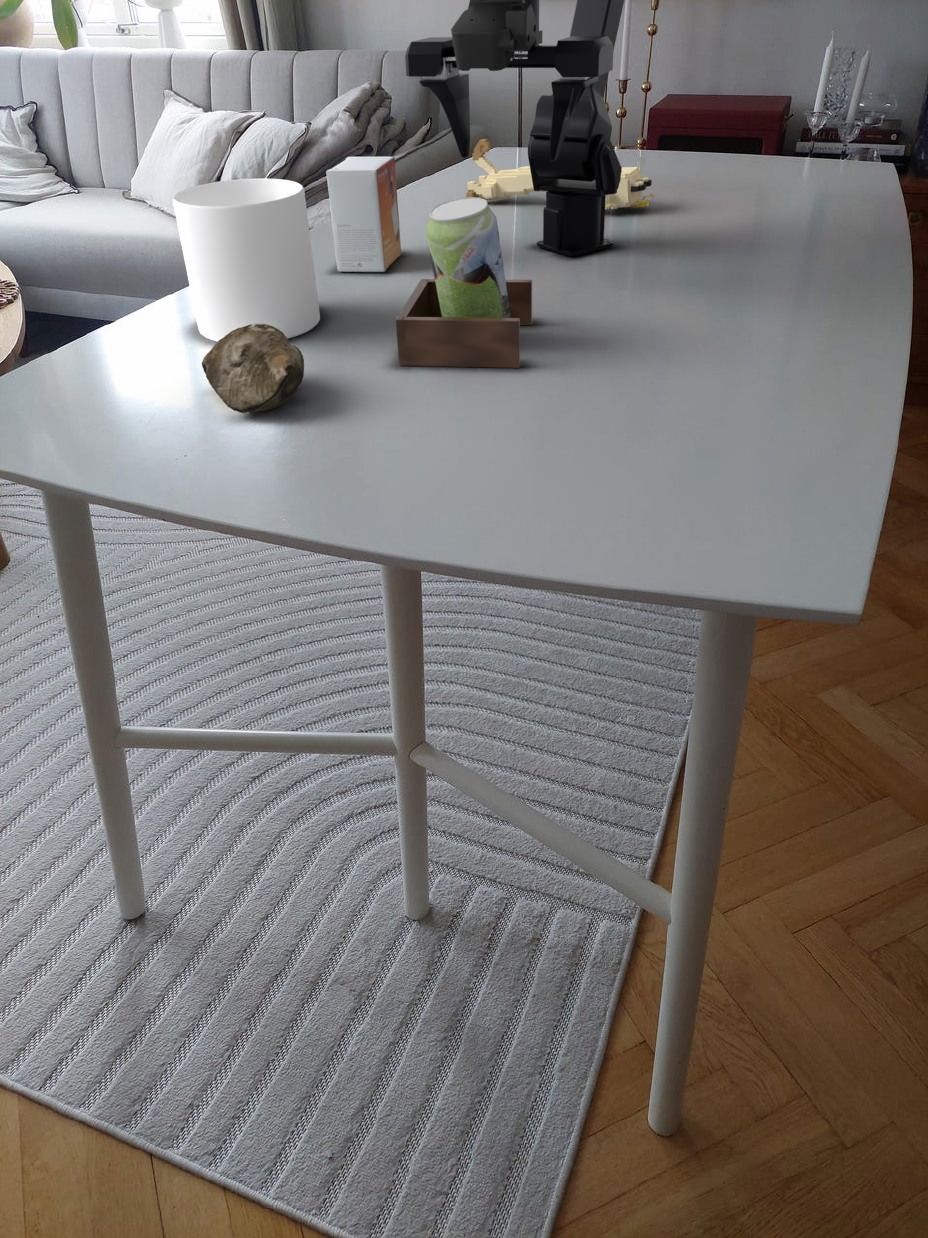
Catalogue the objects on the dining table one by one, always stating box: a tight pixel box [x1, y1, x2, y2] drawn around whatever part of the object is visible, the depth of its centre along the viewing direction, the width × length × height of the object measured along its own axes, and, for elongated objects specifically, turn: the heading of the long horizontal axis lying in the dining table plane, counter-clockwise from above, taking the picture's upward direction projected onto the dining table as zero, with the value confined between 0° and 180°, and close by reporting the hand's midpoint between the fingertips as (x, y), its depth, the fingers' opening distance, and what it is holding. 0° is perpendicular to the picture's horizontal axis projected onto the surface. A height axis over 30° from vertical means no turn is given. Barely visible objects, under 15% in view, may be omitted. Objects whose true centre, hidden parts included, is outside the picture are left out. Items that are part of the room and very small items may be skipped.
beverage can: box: [425, 197, 511, 318], centre depth 83 cm, size 6×7×12 cm
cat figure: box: [465, 138, 656, 210], centre depth 126 cm, size 10×9×25 cm
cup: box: [172, 177, 321, 343], centre depth 90 cm, size 12×12×12 cm
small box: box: [325, 156, 402, 273], centre depth 106 cm, size 8×6×10 cm
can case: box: [395, 278, 533, 369], centre depth 86 cm, size 10×12×4 cm
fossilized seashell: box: [201, 324, 305, 414], centre depth 77 cm, size 8×7×10 cm
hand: (508, 158), depth 94 cm, fingers open, 9 cm apart
